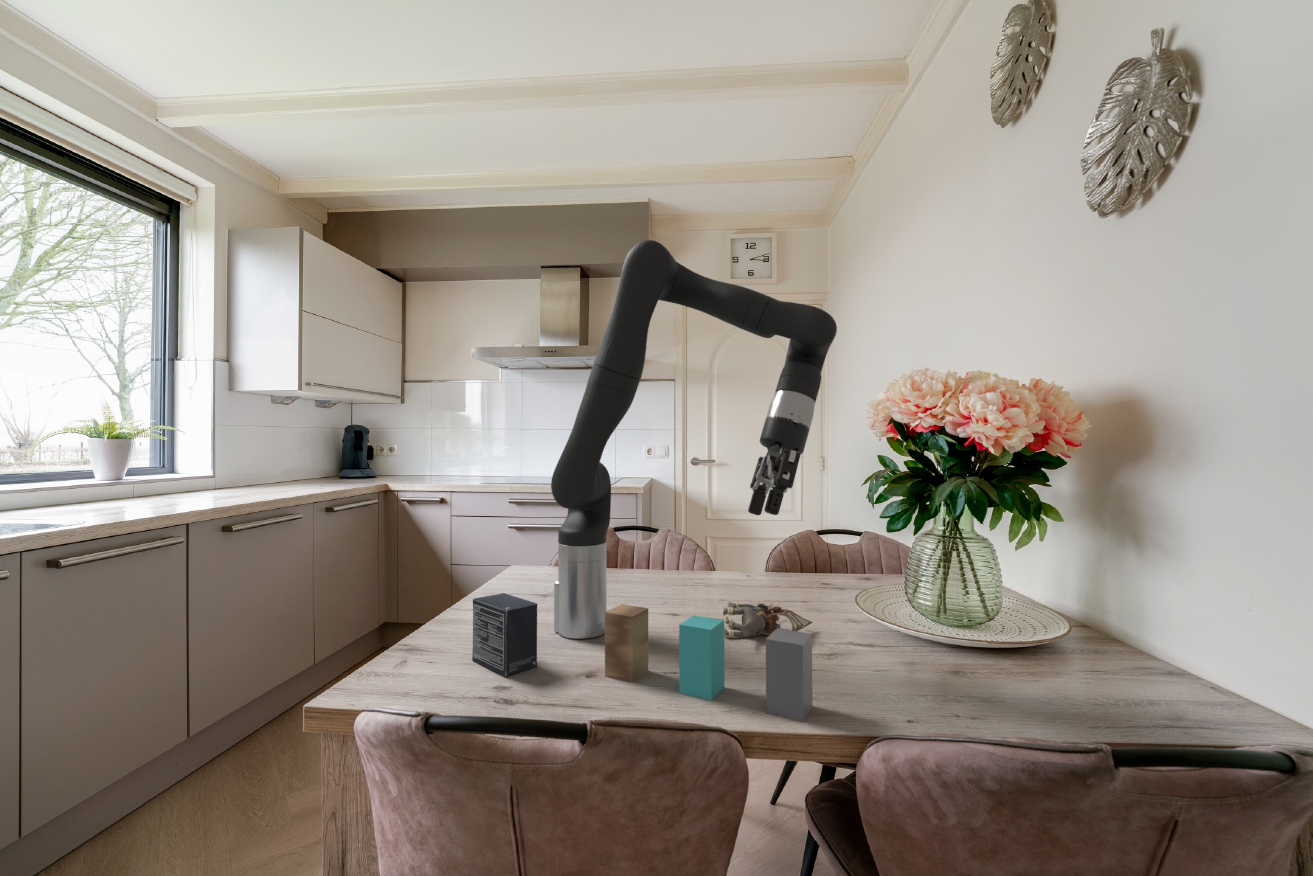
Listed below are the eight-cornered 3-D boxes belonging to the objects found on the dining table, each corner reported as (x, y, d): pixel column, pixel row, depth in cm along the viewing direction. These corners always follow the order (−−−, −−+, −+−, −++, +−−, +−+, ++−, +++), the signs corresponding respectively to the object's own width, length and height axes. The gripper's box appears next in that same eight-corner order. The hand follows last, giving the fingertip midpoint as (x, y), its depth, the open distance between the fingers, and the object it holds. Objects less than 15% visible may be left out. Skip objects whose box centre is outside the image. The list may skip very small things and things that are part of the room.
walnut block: (605, 676, 89) (604, 612, 89) (621, 665, 94) (621, 604, 94) (632, 682, 87) (632, 616, 87) (648, 670, 91) (648, 608, 91)
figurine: (728, 590, 121) (810, 596, 118) (728, 620, 121) (810, 626, 117) (719, 612, 101) (817, 619, 98) (718, 647, 101) (817, 655, 98)
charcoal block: (766, 713, 77) (765, 638, 77) (776, 698, 81) (776, 628, 81) (803, 721, 75) (802, 645, 75) (812, 706, 79) (812, 633, 79)
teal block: (679, 693, 83) (679, 624, 83) (693, 680, 88) (693, 615, 88) (711, 700, 81) (711, 629, 81) (724, 687, 85) (724, 620, 85)
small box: (540, 666, 93) (540, 602, 94) (505, 678, 89) (505, 610, 89) (504, 650, 101) (504, 590, 101) (470, 661, 96) (470, 598, 96)
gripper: (754, 422, 104) (729, 507, 101) (782, 407, 90) (754, 505, 87) (792, 436, 105) (768, 521, 102) (826, 423, 91) (799, 521, 88)
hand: (761, 513), depth 94 cm, fingers open, 8 cm apart
